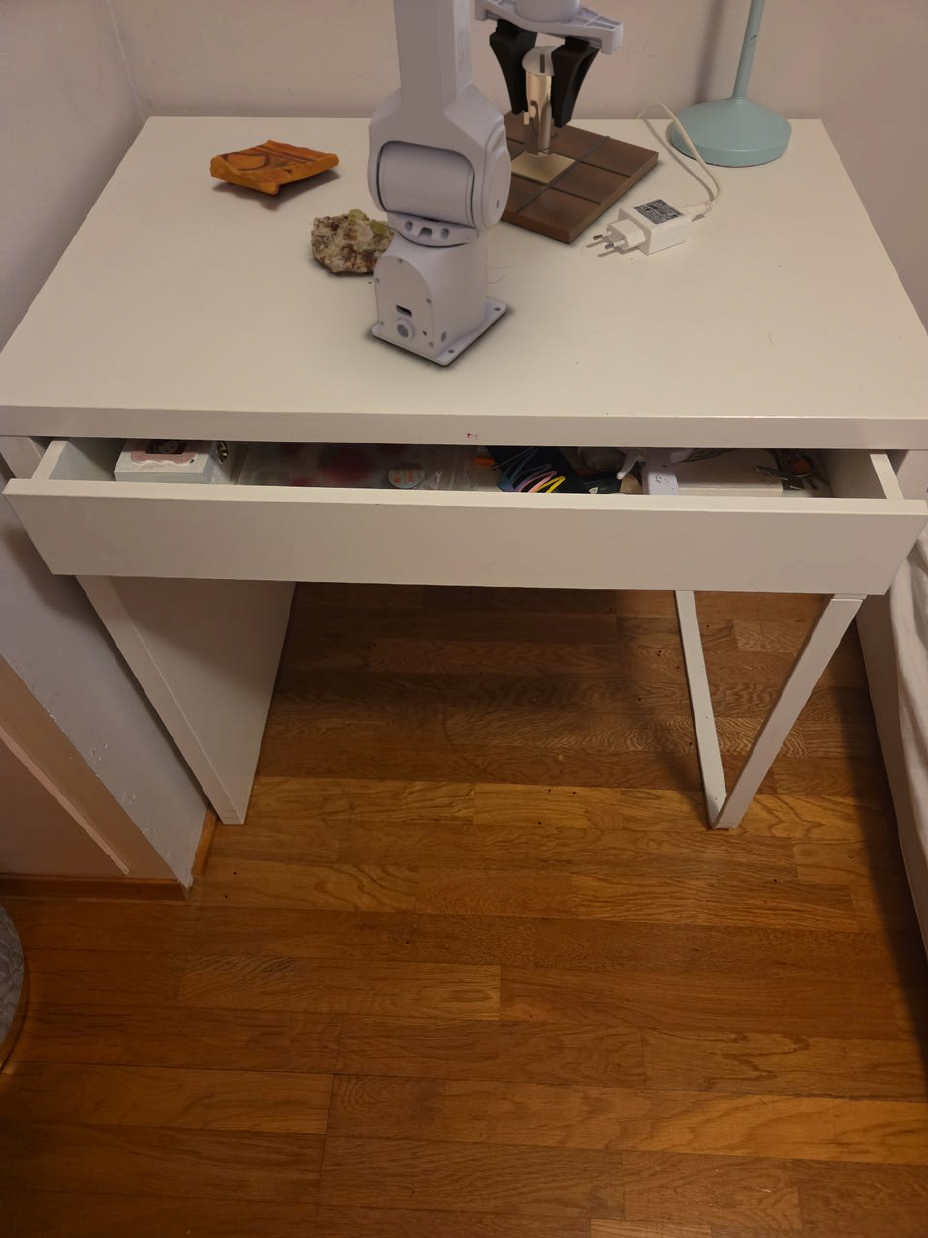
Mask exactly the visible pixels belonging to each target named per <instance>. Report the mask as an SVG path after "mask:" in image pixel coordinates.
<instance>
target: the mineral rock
mask: <svg viewBox="0 0 928 1238" xmlns="http://www.w3.org/2000/svg"><path fill="white" fill-rule="evenodd" d="M312 225H313V226H312V227H313V228H312V230H311V231H310V235H311V237H310V243H311V246H312V253H313V256H314V257H315V258H316V259H317V260H318V261H319V262H320V263H322V264H324V266H327V267H328V269H330V271H331V272H333V273H335V274H336V273H338V272H353V273H356V274H357V273H358V274H362V273H367V272H372V273H373V272H374V267H375V264H376V263H377V261H378V260H379V258H380V257H381V256H382V255H383V254H384V253H385V251H386V250H387V248H388V247H389V245H390V244H391V241H392V239H393V236H394V232H395V228H392V227H389V226H388V221H385V220H384V221H383V220H376V219H374V218H373V219H372V218H370V217H368V215H367V213H365V212H364V211H362V210H361V209H359V208H353V209H350V210H349V211H348V213H342V214H340V215H337V216H336V215H335V216H330V215H325V216H324V217H317V216H316V217H315V218H314V219H313V224H312Z"/></svg>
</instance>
